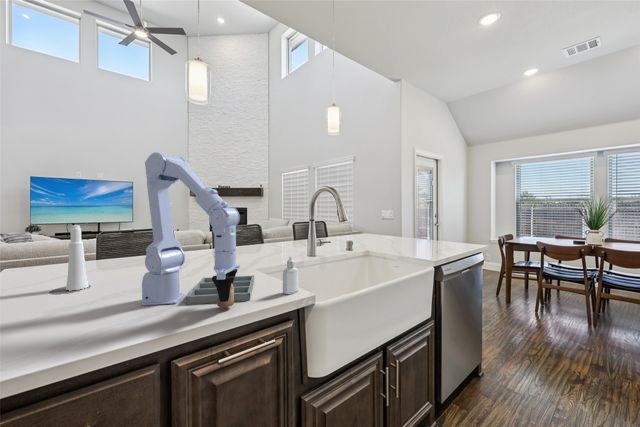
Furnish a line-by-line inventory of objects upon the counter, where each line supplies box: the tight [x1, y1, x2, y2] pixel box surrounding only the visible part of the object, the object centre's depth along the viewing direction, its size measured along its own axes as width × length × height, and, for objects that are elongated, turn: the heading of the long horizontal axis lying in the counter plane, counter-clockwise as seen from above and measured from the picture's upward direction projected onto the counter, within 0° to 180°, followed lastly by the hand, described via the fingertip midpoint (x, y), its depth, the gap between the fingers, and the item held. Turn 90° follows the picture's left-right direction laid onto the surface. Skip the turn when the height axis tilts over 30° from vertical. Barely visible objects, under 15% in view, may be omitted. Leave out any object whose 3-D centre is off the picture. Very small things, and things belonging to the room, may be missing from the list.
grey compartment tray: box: [185, 275, 255, 305], centre depth 92 cm, size 18×21×2 cm
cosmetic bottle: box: [65, 224, 89, 292], centre depth 95 cm, size 6×6×22 cm
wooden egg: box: [216, 284, 235, 308], centre depth 77 cm, size 4×4×7 cm
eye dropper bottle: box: [282, 256, 299, 295], centre depth 91 cm, size 4×6×12 cm
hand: (225, 298), depth 77 cm, fingers closed on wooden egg, 4 cm apart
